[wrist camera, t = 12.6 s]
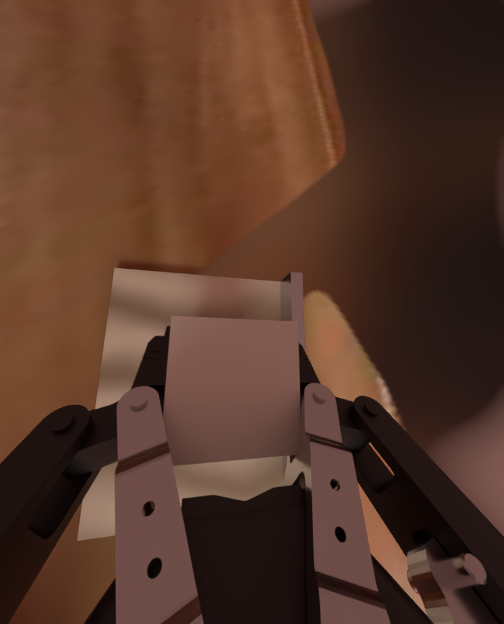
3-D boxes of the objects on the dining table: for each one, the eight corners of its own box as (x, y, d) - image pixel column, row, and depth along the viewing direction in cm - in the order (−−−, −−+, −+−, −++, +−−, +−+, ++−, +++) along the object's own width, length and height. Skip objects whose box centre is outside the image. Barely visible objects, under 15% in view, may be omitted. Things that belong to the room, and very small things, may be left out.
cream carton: (187, 396, 19) (158, 467, 7) (191, 337, 19) (171, 315, 8) (245, 394, 20) (304, 454, 8) (246, 339, 21) (300, 321, 9)
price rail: (280, 281, 24) (290, 271, 21) (293, 282, 24) (305, 273, 21) (283, 510, 20) (297, 537, 17) (299, 508, 20) (314, 534, 17)
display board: (117, 270, 21) (114, 267, 20) (289, 284, 25) (292, 282, 24) (82, 532, 17) (77, 540, 16) (294, 502, 21) (298, 508, 20)
